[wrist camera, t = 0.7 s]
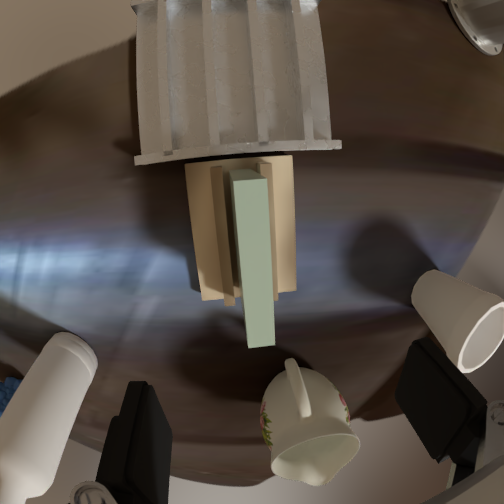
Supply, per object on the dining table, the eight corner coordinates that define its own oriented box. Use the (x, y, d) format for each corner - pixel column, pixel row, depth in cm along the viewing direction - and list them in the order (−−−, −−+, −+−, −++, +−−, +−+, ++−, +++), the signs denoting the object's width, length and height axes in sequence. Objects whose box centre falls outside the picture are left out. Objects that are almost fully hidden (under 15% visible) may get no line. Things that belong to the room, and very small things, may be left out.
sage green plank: (250, 168, 26) (267, 178, 17) (258, 286, 31) (274, 344, 21) (228, 170, 26) (233, 181, 17) (239, 288, 30) (248, 348, 21)
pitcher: (323, 318, 35) (368, 397, 22) (333, 404, 41) (361, 472, 28) (236, 342, 34) (246, 433, 22) (267, 423, 41) (281, 495, 28)
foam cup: (398, 276, 34) (461, 329, 22) (449, 248, 34) (515, 287, 21) (405, 329, 37) (454, 385, 25) (451, 301, 37) (504, 346, 25)
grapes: (8, 392, 35) (-16, 434, 24) (-9, 365, 33) (-38, 407, 22) (48, 399, 36) (25, 450, 25) (30, 371, 34) (0, 421, 22)
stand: (288, 155, 28) (298, 156, 24) (293, 284, 33) (302, 301, 29) (186, 163, 27) (181, 165, 23) (203, 294, 32) (201, 312, 28)
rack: (311, 5, 22) (323, -11, 18) (326, 149, 28) (341, 150, 24) (140, 14, 21) (131, -1, 17) (146, 164, 27) (135, 166, 23)
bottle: (44, 351, 33) (-39, 514, 5) (59, 319, 31) (-48, 510, 3) (87, 382, 35) (30, 557, 7) (107, 355, 34) (41, 564, 5)
